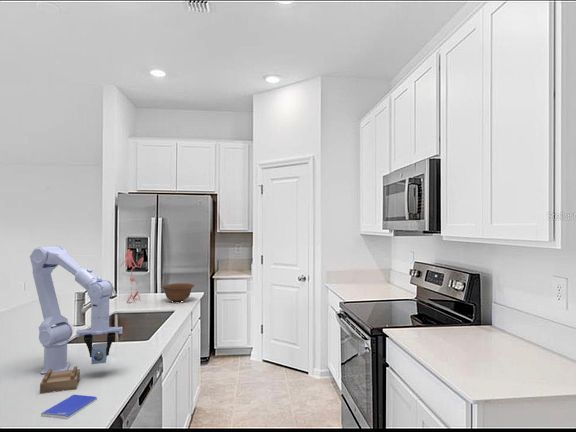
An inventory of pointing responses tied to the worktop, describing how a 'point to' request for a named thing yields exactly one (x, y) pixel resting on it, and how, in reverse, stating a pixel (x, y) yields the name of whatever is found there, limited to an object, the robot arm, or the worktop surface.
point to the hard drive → (69, 406)
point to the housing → (99, 353)
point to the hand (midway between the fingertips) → (99, 355)
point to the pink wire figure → (128, 261)
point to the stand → (60, 380)
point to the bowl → (178, 291)
